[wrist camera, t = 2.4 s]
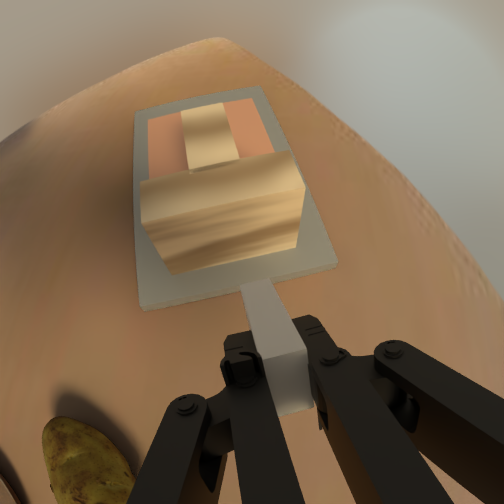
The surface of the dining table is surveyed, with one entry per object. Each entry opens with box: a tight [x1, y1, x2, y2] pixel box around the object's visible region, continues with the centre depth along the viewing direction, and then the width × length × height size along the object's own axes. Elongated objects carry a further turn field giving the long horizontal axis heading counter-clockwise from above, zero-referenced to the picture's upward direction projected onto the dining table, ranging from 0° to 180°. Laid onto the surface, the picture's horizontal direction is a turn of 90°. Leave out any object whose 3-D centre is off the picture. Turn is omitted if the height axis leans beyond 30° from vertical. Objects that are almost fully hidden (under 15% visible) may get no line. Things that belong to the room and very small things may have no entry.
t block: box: [140, 103, 306, 275], centre depth 29 cm, size 12×12×9 cm
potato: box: [42, 416, 136, 504], centre depth 19 cm, size 8×13×8 cm, turn 25°
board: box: [133, 86, 338, 312], centre depth 37 cm, size 30×19×2 cm, turn 13°
